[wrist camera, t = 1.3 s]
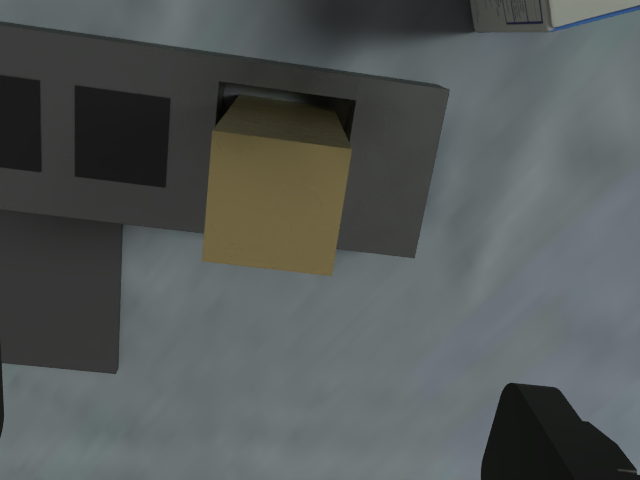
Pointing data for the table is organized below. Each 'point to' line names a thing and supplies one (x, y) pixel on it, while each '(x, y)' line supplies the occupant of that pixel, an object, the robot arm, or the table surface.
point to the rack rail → (191, 133)
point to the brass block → (276, 186)
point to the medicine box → (543, 13)
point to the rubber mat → (60, 291)
